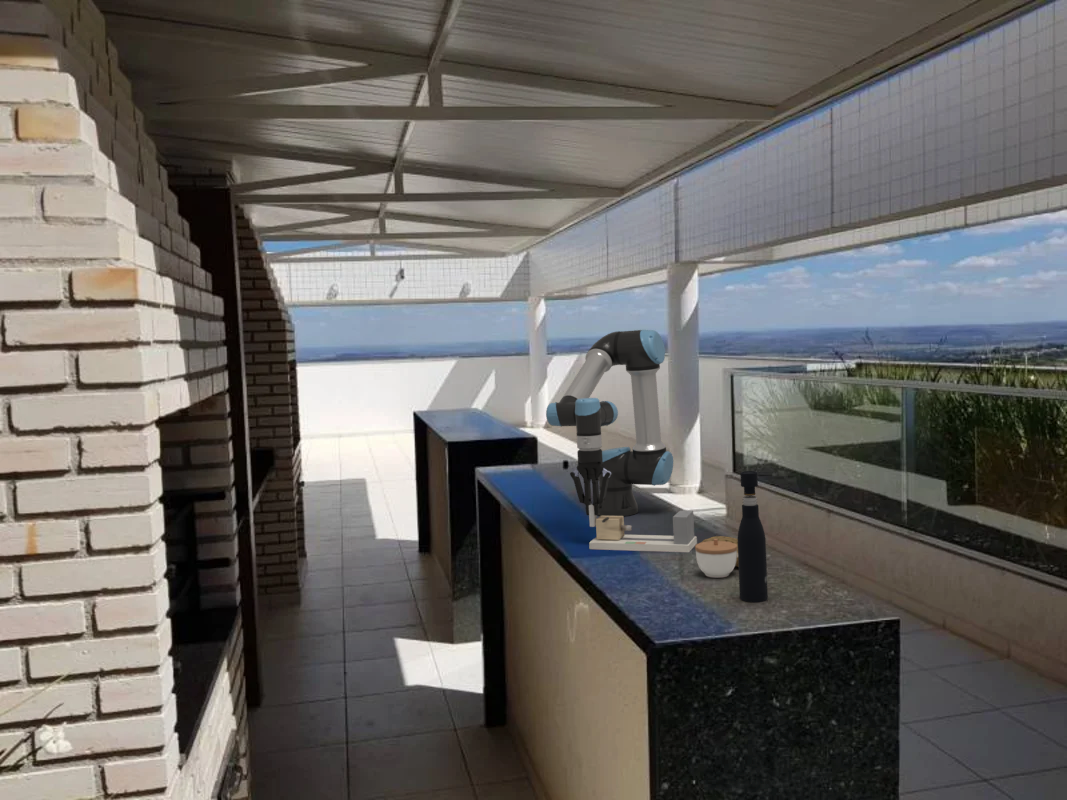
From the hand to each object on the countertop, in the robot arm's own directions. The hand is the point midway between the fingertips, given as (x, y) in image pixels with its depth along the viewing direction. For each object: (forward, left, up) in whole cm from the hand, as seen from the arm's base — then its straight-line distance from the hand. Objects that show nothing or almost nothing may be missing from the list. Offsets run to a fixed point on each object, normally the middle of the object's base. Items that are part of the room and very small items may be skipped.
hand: (593, 525), depth 283 cm
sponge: (+14, +44, -6) cm, 47 cm away
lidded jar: (+29, +42, -6) cm, 52 cm away
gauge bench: (0, +15, -6) cm, 16 cm away
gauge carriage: (+2, +7, -3) cm, 8 cm away
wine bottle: (+49, +54, -6) cm, 73 cm away
